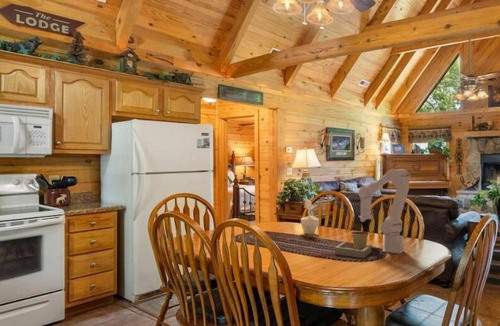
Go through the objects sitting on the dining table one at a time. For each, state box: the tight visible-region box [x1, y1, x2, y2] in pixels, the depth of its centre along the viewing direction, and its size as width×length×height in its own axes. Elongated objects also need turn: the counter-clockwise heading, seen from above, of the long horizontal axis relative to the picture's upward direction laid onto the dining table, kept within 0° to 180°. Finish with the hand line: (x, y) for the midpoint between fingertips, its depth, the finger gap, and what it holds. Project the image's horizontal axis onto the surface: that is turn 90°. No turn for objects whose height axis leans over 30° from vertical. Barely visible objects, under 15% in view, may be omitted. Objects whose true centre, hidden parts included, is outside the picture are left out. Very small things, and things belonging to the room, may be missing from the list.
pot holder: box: [334, 241, 372, 259], centre depth 196 cm, size 15×14×4 cm
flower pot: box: [350, 230, 370, 250], centre depth 206 cm, size 9×9×9 cm
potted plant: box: [300, 197, 320, 235], centre depth 246 cm, size 13×12×25 cm
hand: (365, 232), depth 216 cm, fingers closed
